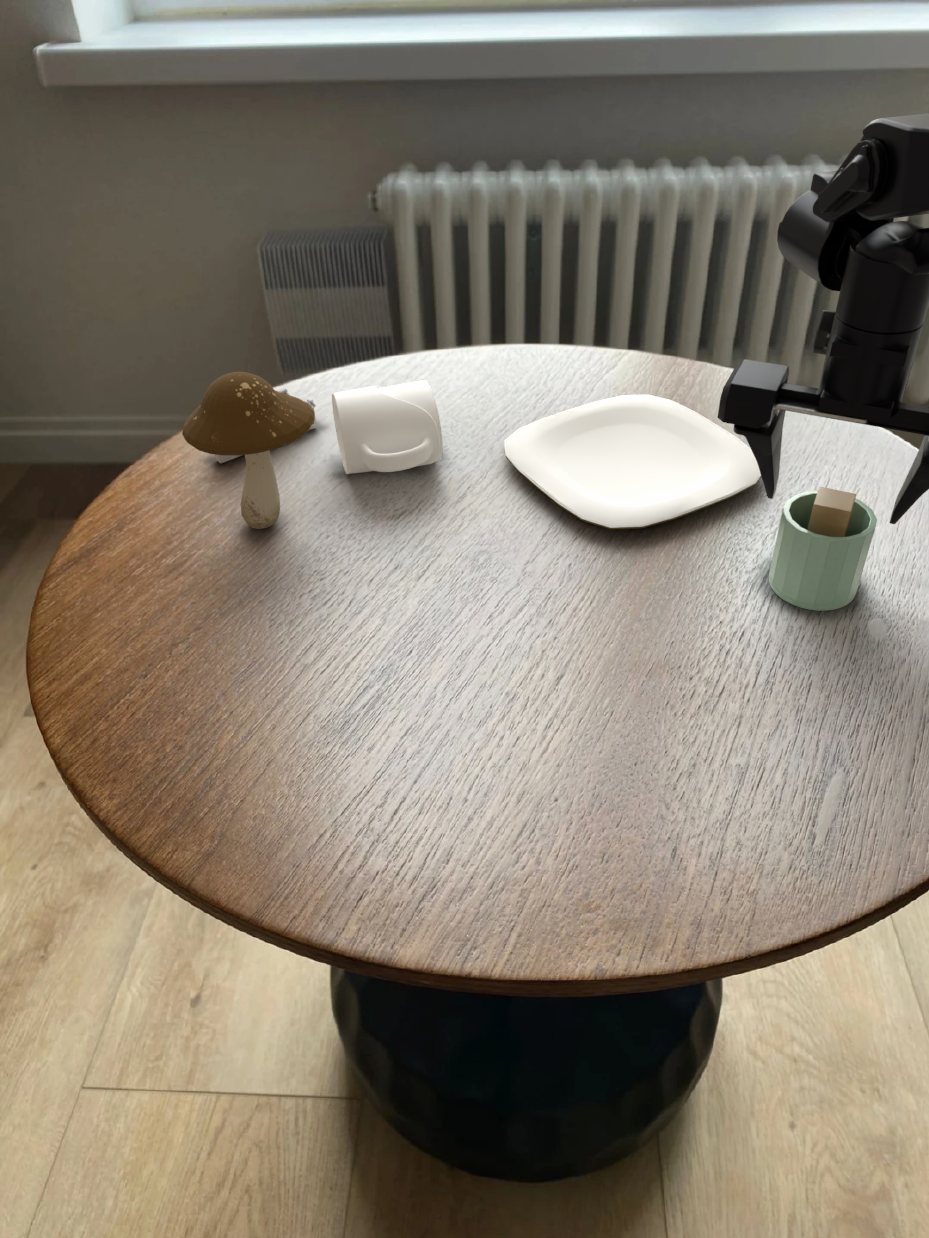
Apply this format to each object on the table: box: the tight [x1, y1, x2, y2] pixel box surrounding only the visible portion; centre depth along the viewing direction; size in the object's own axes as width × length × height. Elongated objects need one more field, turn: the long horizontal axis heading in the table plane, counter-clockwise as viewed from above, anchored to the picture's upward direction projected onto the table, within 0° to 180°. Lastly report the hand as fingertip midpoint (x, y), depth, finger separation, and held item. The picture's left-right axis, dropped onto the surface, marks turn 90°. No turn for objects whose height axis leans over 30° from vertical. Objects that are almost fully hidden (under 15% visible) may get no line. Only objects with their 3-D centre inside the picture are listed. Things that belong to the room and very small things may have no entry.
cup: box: [768, 490, 878, 612], centre depth 78 cm, size 7×7×7 cm
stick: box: [808, 486, 857, 537], centre depth 78 cm, size 3×3×8 cm
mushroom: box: [181, 371, 316, 530], centre depth 86 cm, size 9×11×15 cm
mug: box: [331, 379, 444, 475], centre depth 95 cm, size 12×9×8 cm
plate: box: [503, 393, 762, 530], centre depth 95 cm, size 22×22×2 cm
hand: (830, 508), depth 76 cm, fingers open, 9 cm apart
